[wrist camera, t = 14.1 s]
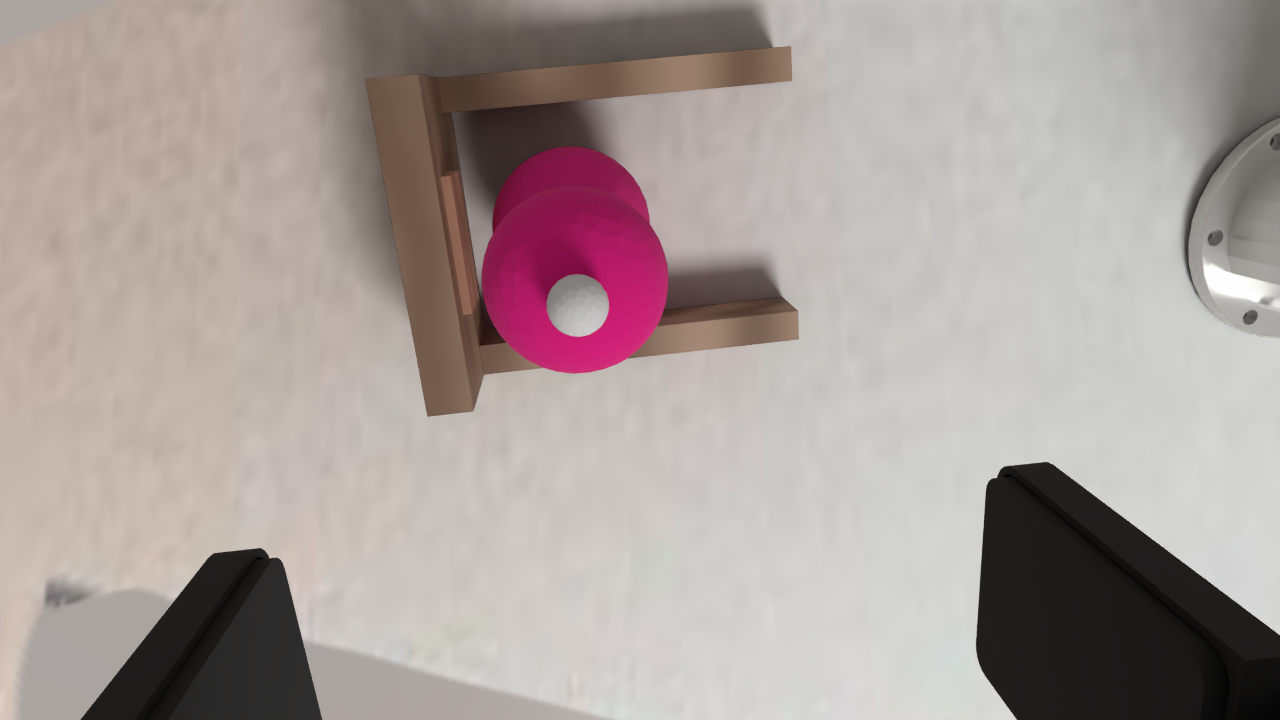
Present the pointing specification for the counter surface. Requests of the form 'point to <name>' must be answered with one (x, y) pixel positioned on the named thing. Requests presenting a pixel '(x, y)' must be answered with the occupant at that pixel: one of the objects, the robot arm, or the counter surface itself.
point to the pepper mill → (573, 262)
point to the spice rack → (439, 229)
